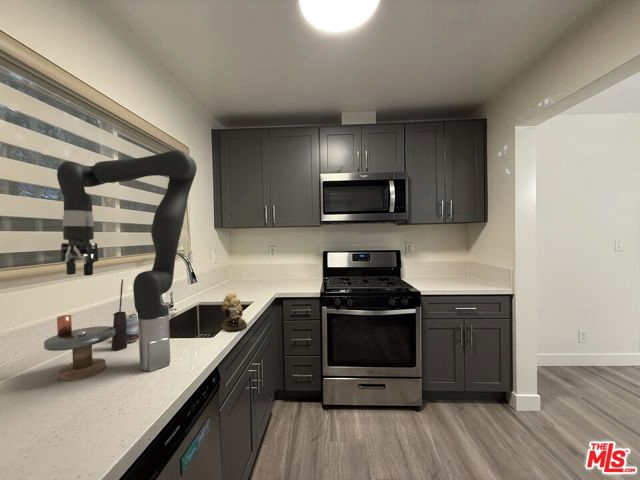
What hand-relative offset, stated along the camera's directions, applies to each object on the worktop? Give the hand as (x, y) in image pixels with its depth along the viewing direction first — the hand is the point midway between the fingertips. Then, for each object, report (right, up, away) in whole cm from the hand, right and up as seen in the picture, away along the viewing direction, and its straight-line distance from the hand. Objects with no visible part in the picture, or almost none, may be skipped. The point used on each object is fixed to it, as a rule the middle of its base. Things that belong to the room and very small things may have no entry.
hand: (79, 274), depth 90 cm
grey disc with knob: (-1, -22, +2) cm, 22 cm away
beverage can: (-4, -33, +30) cm, 44 cm away
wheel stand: (-1, -33, +2) cm, 33 cm away
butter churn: (-3, -33, +21) cm, 39 cm away
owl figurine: (+37, -32, +46) cm, 67 cm away
